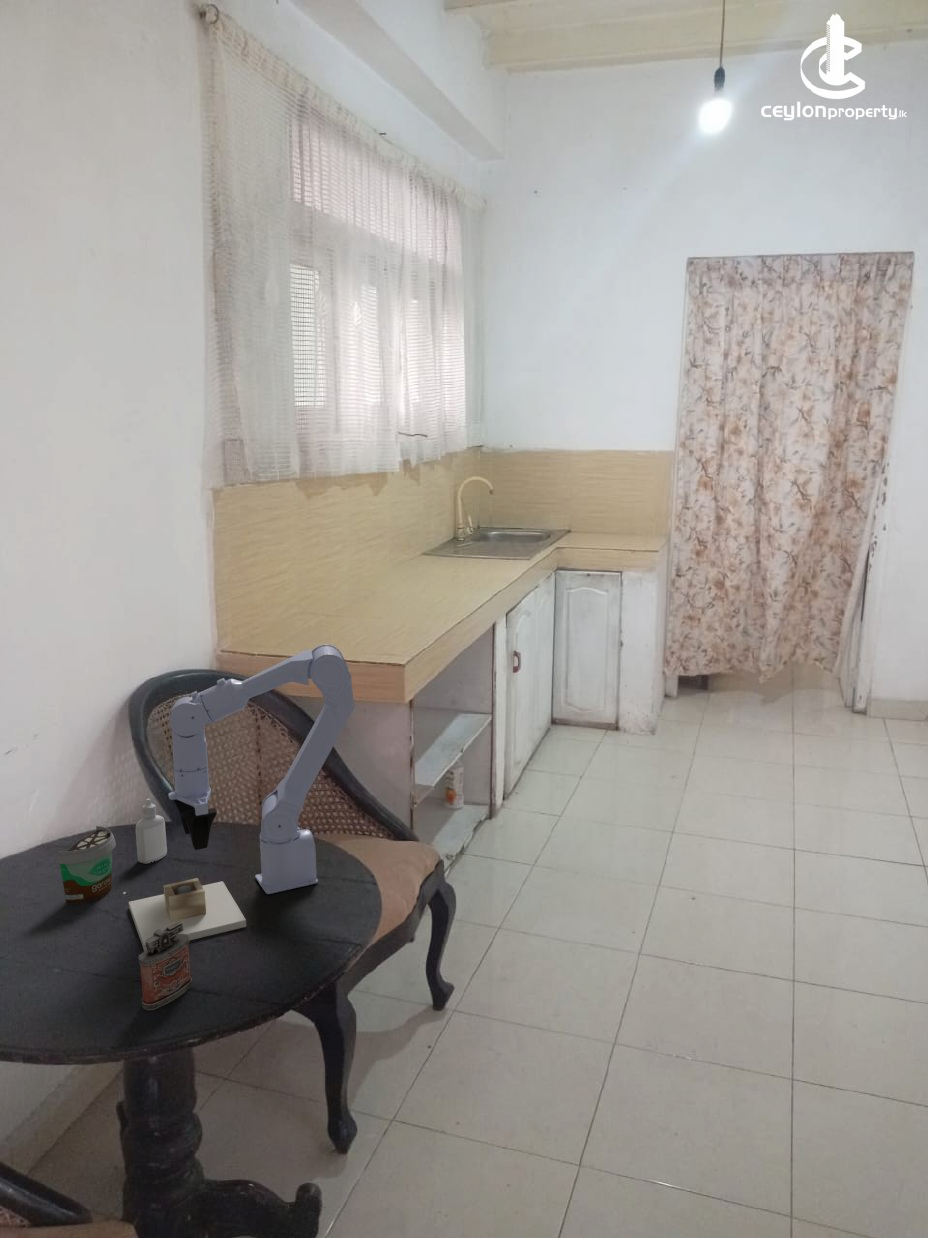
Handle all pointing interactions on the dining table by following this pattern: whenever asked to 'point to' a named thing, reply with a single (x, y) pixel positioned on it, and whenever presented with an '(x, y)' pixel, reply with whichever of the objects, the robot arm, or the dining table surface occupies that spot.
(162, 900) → the post board
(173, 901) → the maple sleeve
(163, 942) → the lighter
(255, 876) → the robot arm
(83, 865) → the food container
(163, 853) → the eye dropper bottle
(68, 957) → the dining table surface
